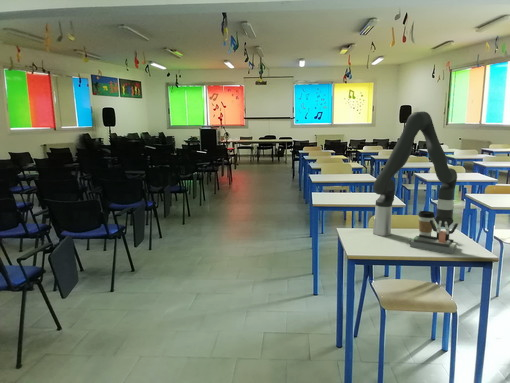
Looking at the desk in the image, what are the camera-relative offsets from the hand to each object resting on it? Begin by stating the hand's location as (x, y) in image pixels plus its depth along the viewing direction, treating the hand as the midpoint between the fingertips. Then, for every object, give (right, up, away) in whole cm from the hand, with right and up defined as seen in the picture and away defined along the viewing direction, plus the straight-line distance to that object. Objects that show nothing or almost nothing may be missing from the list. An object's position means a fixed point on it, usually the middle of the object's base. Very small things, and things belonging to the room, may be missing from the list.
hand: (442, 240), depth 199 cm
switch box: (-3, -4, +3) cm, 6 cm away
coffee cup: (0, -1, +21) cm, 21 cm away
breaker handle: (0, -1, 0) cm, 1 cm away
